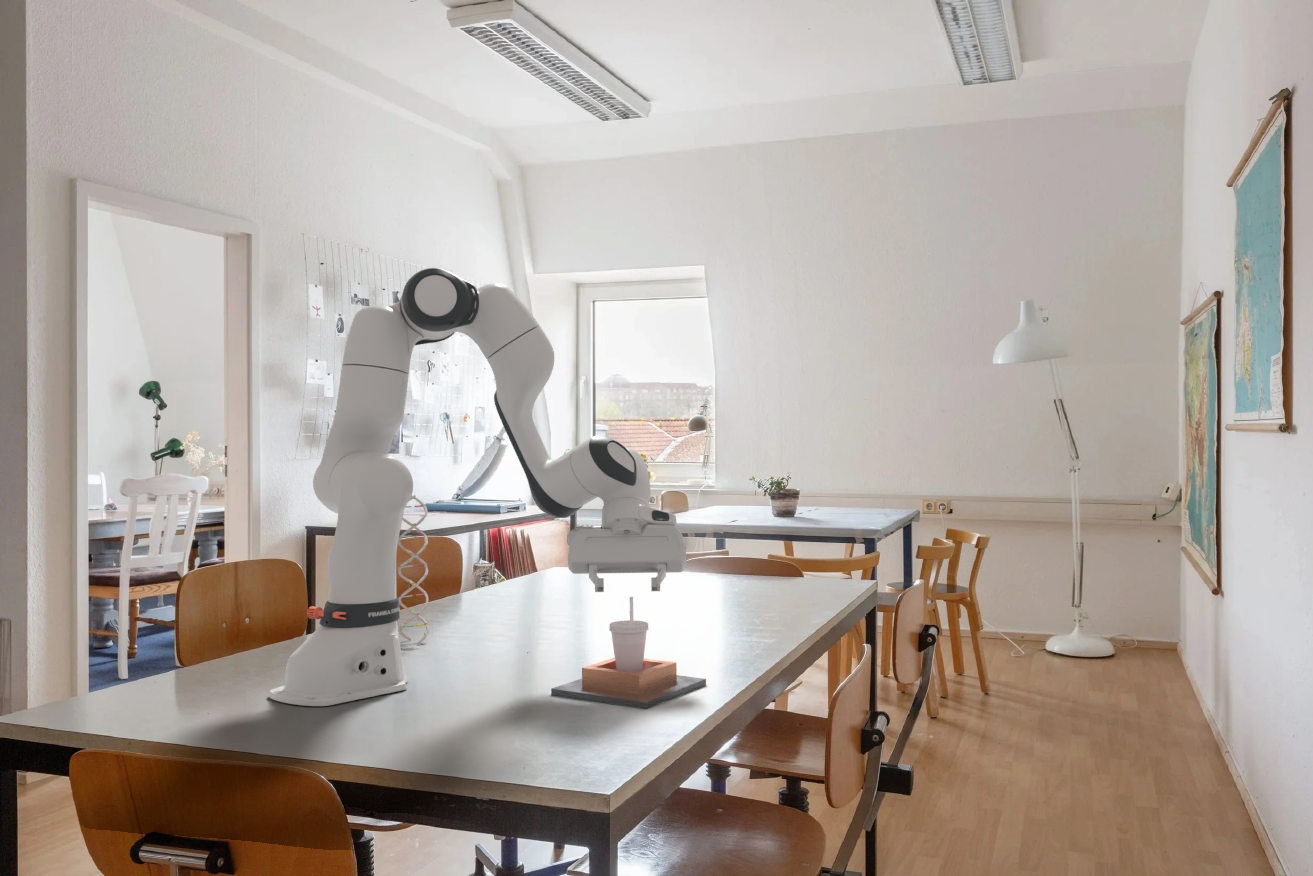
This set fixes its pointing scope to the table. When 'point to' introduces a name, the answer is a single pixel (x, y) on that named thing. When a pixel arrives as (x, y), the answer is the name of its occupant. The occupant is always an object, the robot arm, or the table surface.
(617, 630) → the smoothie
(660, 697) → the mount
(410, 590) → the dna model
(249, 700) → the table surface
